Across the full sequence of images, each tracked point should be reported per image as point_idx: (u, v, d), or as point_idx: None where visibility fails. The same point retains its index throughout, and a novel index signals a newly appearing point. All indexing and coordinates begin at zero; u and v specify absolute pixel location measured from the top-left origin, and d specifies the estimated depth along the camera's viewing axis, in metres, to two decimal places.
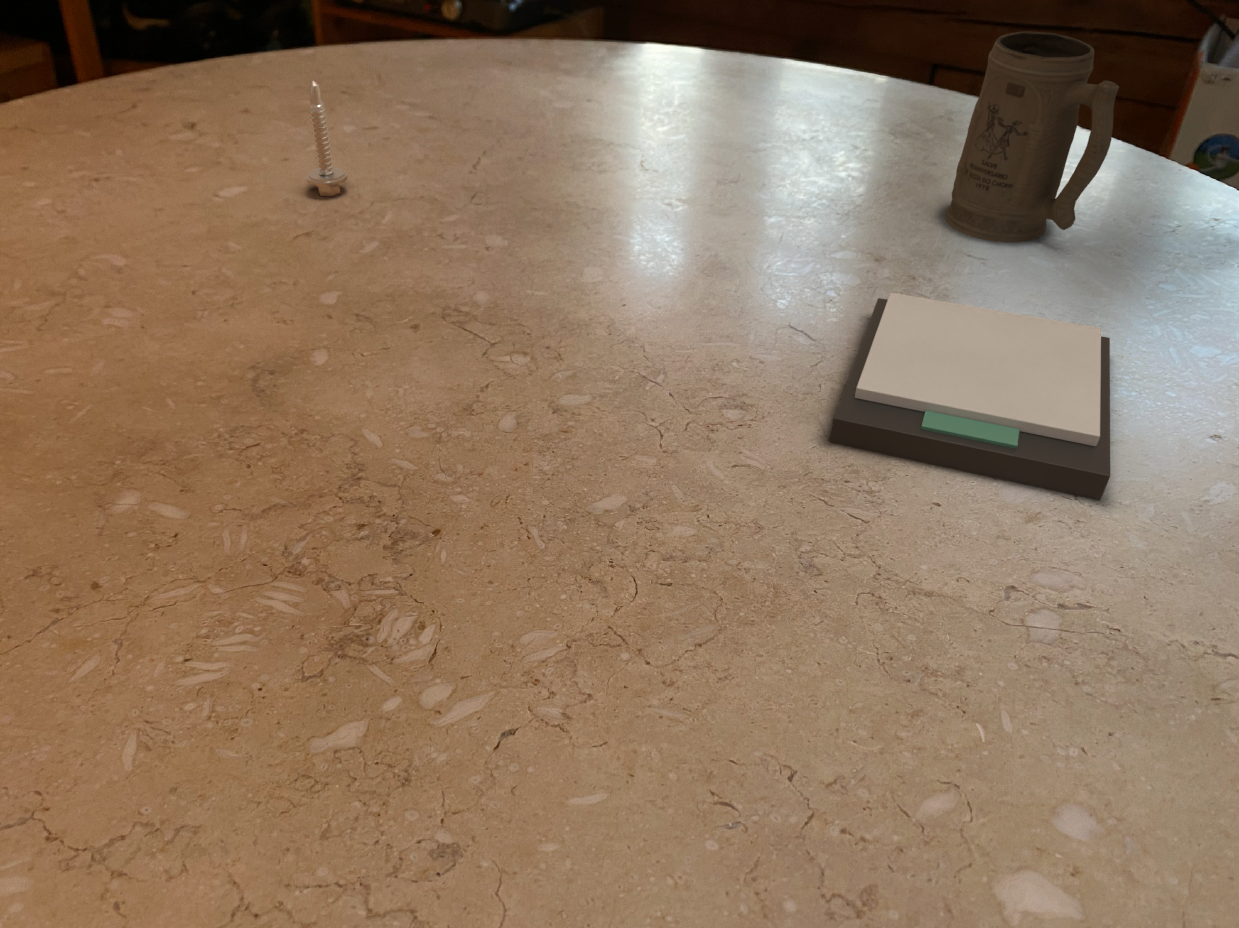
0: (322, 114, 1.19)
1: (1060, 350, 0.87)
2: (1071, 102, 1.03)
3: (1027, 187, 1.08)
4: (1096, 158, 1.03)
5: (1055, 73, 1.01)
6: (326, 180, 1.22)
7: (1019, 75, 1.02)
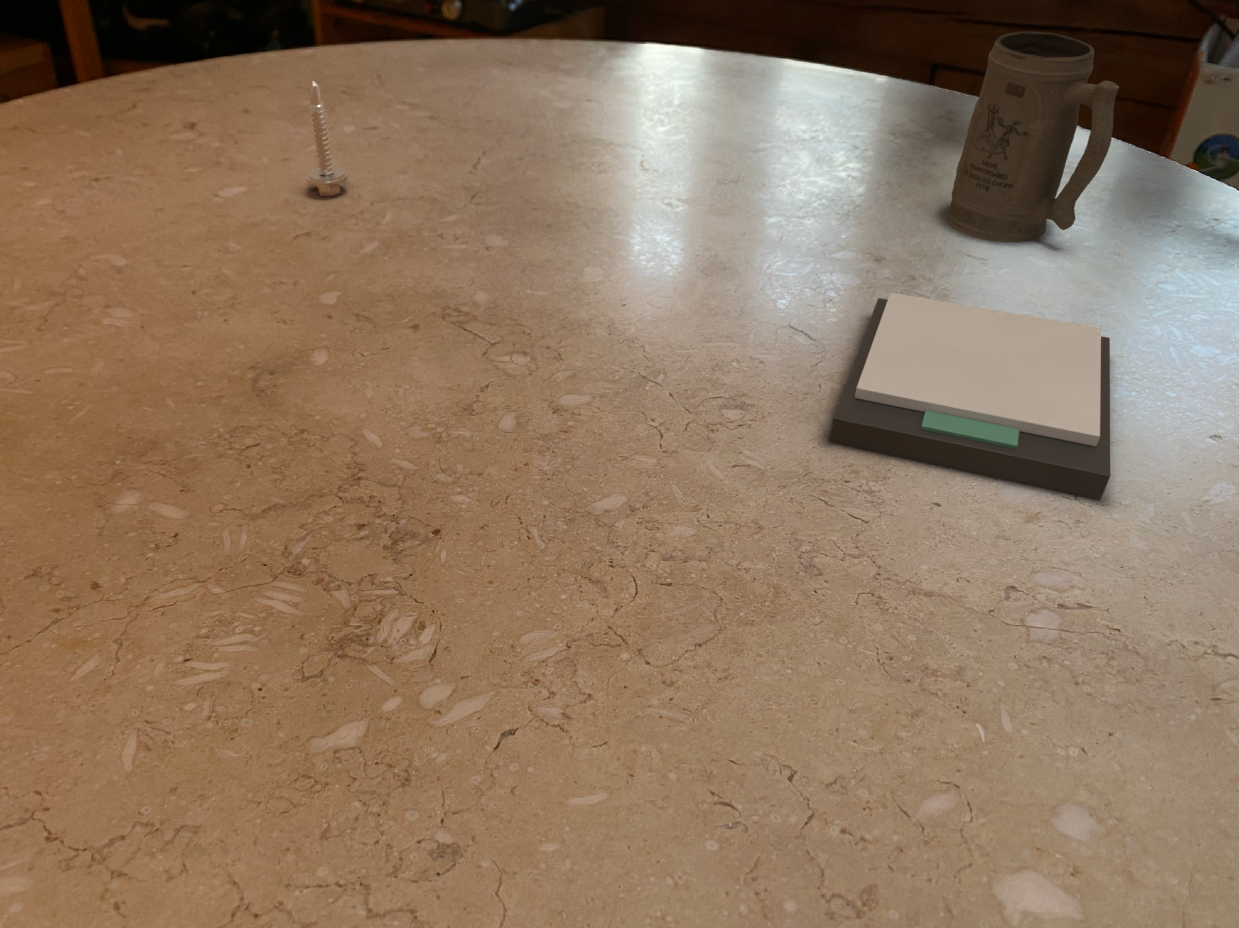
0: (322, 114, 1.19)
1: (1060, 350, 0.87)
2: (1071, 102, 1.03)
3: (1027, 187, 1.08)
4: (1096, 158, 1.03)
5: (1055, 73, 1.01)
6: (326, 180, 1.22)
7: (1019, 75, 1.02)
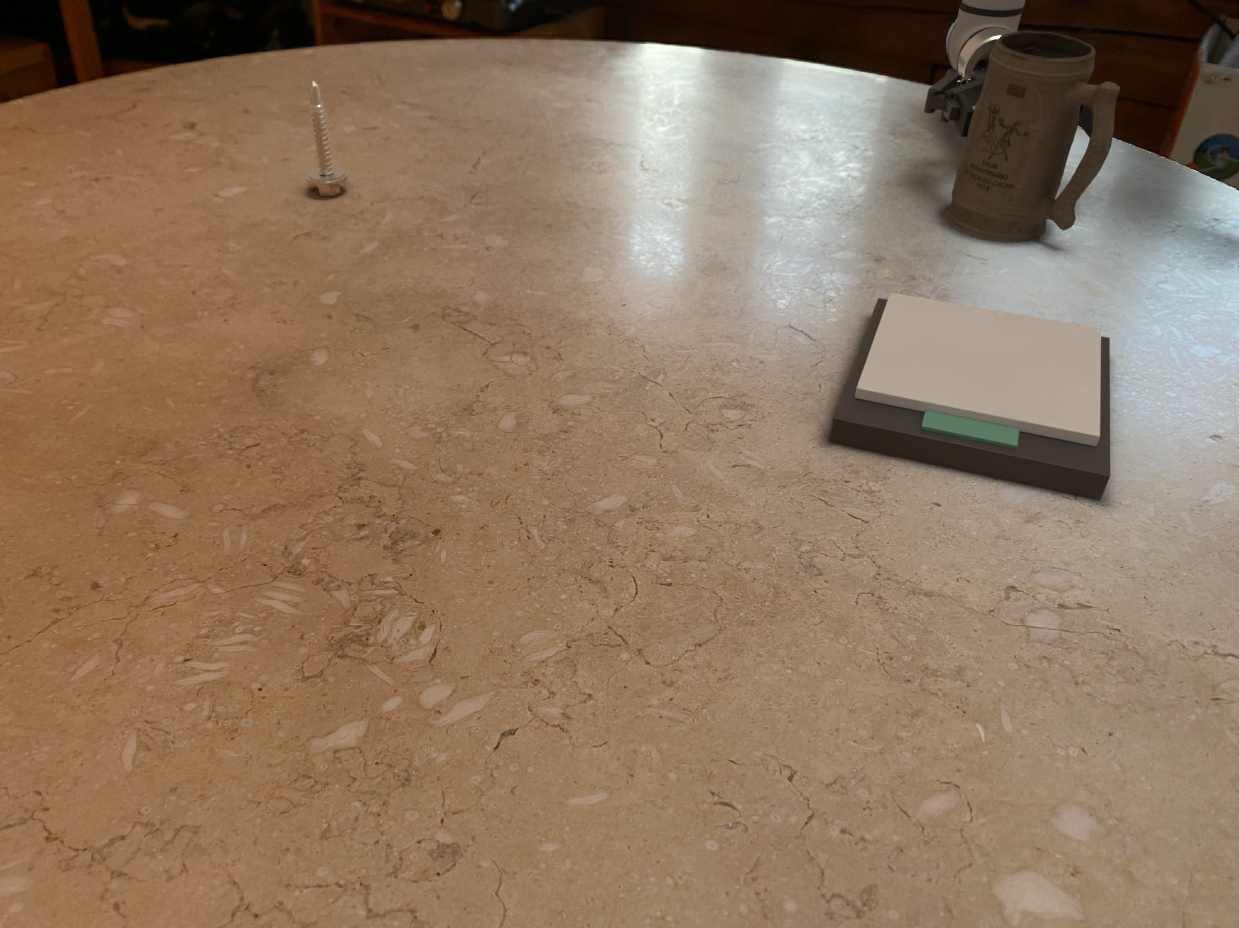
0: (322, 114, 1.19)
1: (1060, 350, 0.87)
2: (1072, 103, 1.03)
3: (1028, 187, 1.08)
4: (1097, 159, 1.02)
5: (1056, 74, 1.01)
6: (326, 180, 1.22)
7: (1020, 76, 1.02)
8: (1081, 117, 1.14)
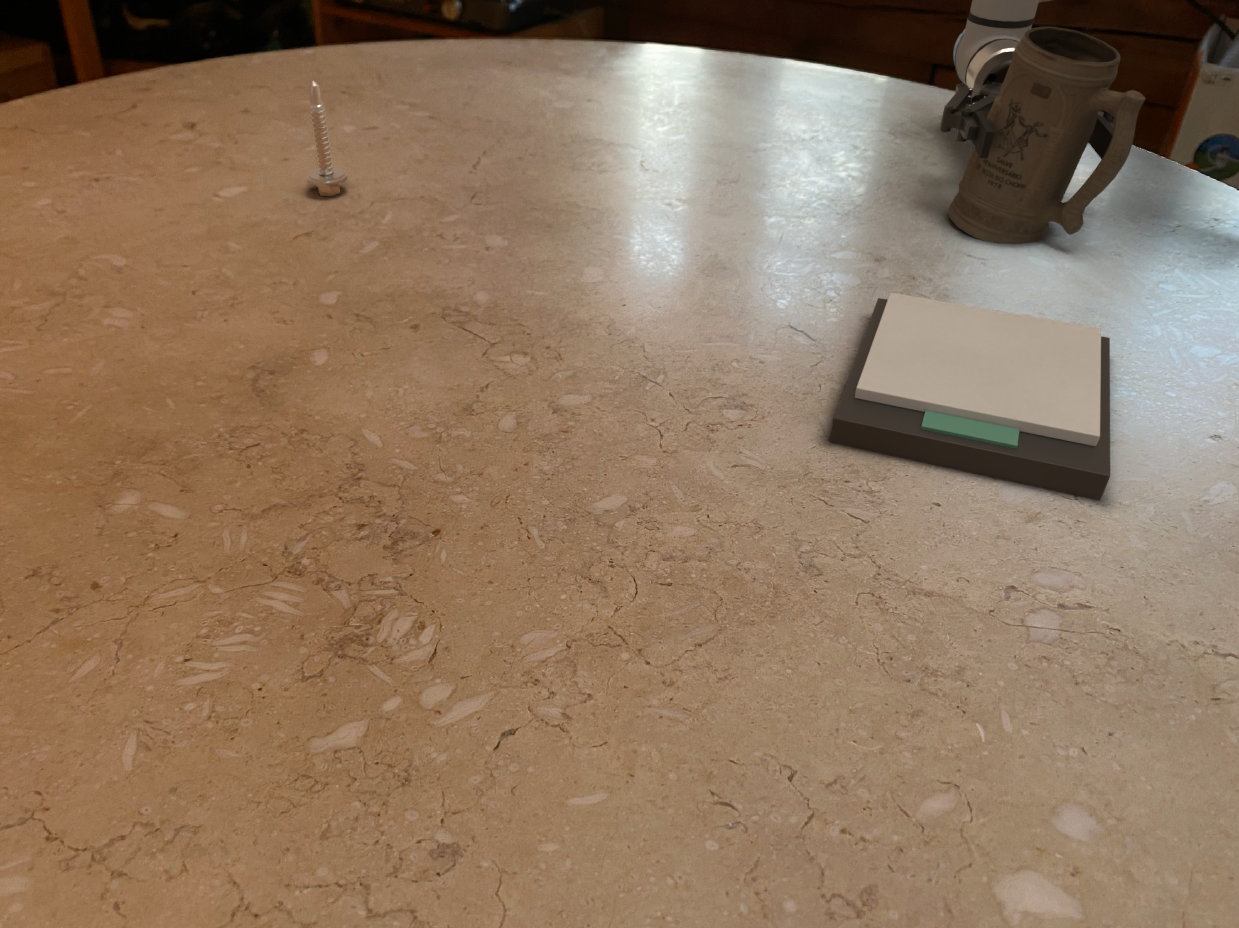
0: (322, 114, 1.19)
1: (1060, 350, 0.87)
2: (1094, 108, 1.02)
3: (1040, 189, 1.07)
4: (1113, 168, 1.02)
5: (1084, 78, 1.00)
6: (326, 180, 1.22)
7: (1047, 76, 1.01)
8: (1091, 136, 1.09)
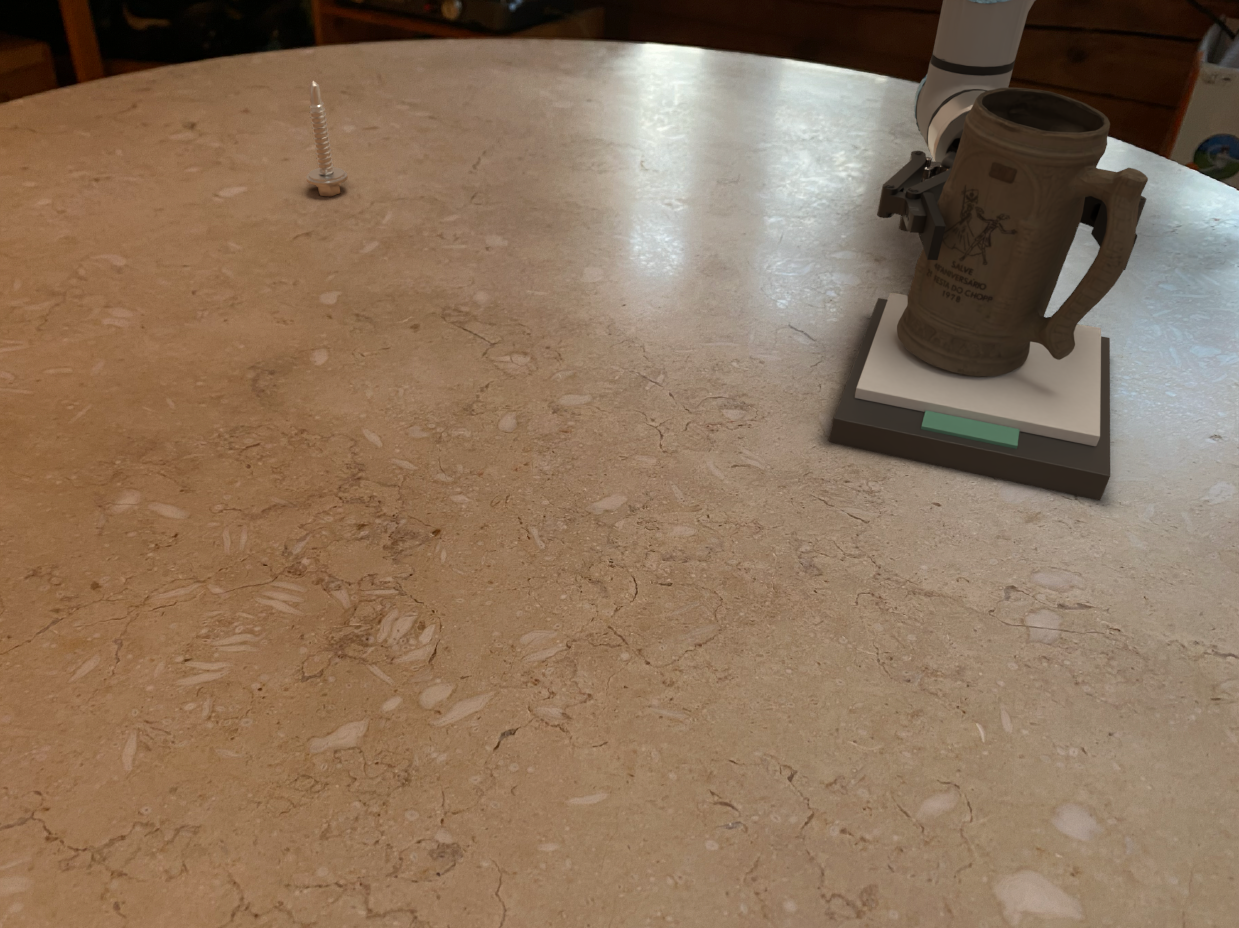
0: (322, 114, 1.19)
1: None
2: (1078, 193, 0.74)
3: (1012, 301, 0.79)
4: (1111, 272, 0.74)
5: (1060, 154, 0.72)
6: (326, 180, 1.22)
7: (1010, 153, 0.73)
8: (1096, 227, 0.81)
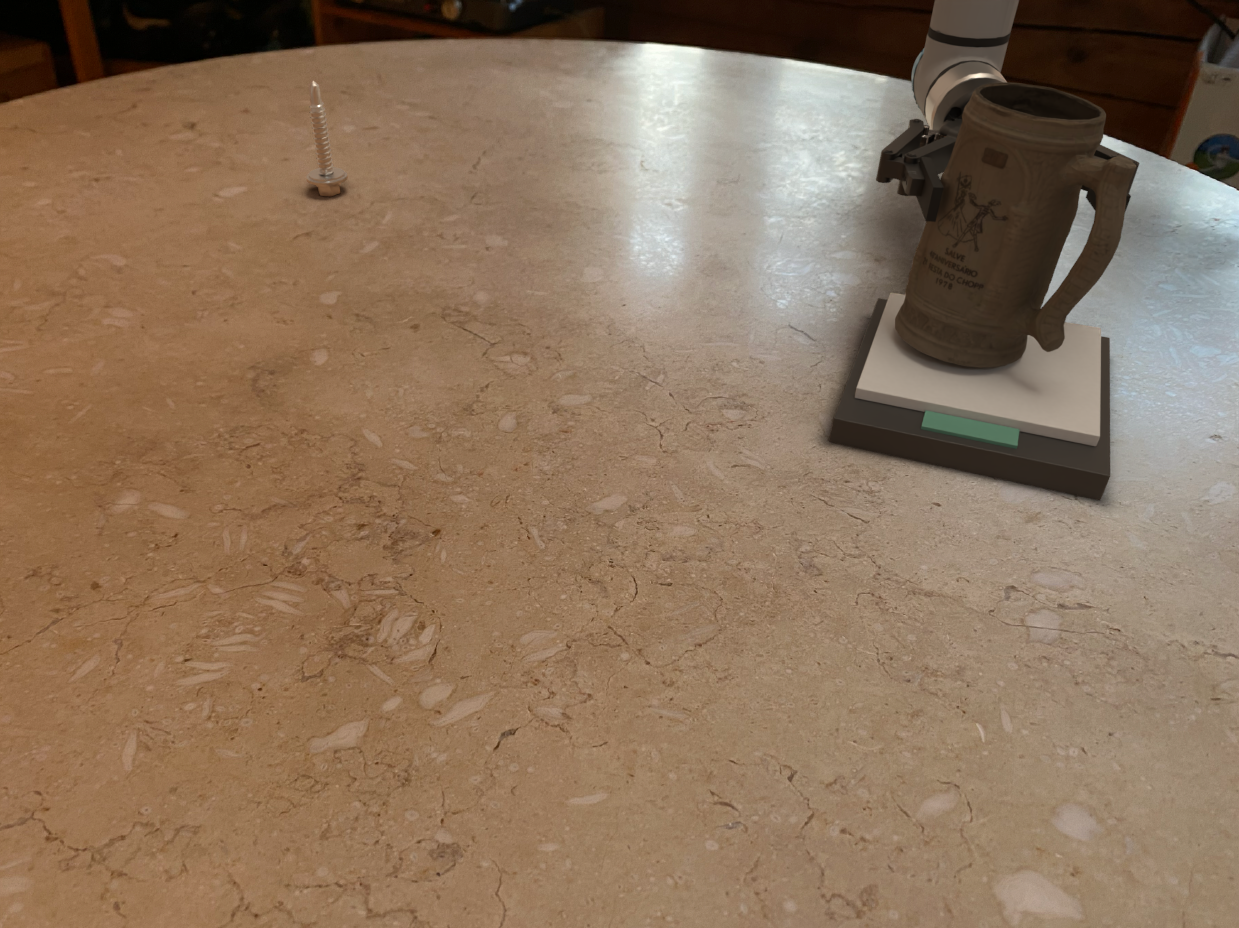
0: (322, 114, 1.19)
1: (1060, 350, 0.87)
2: (1069, 181, 0.75)
3: (1003, 290, 0.79)
4: (1098, 261, 0.74)
5: (1050, 140, 0.73)
6: (326, 180, 1.22)
7: (1001, 138, 0.74)
8: (1090, 190, 0.83)
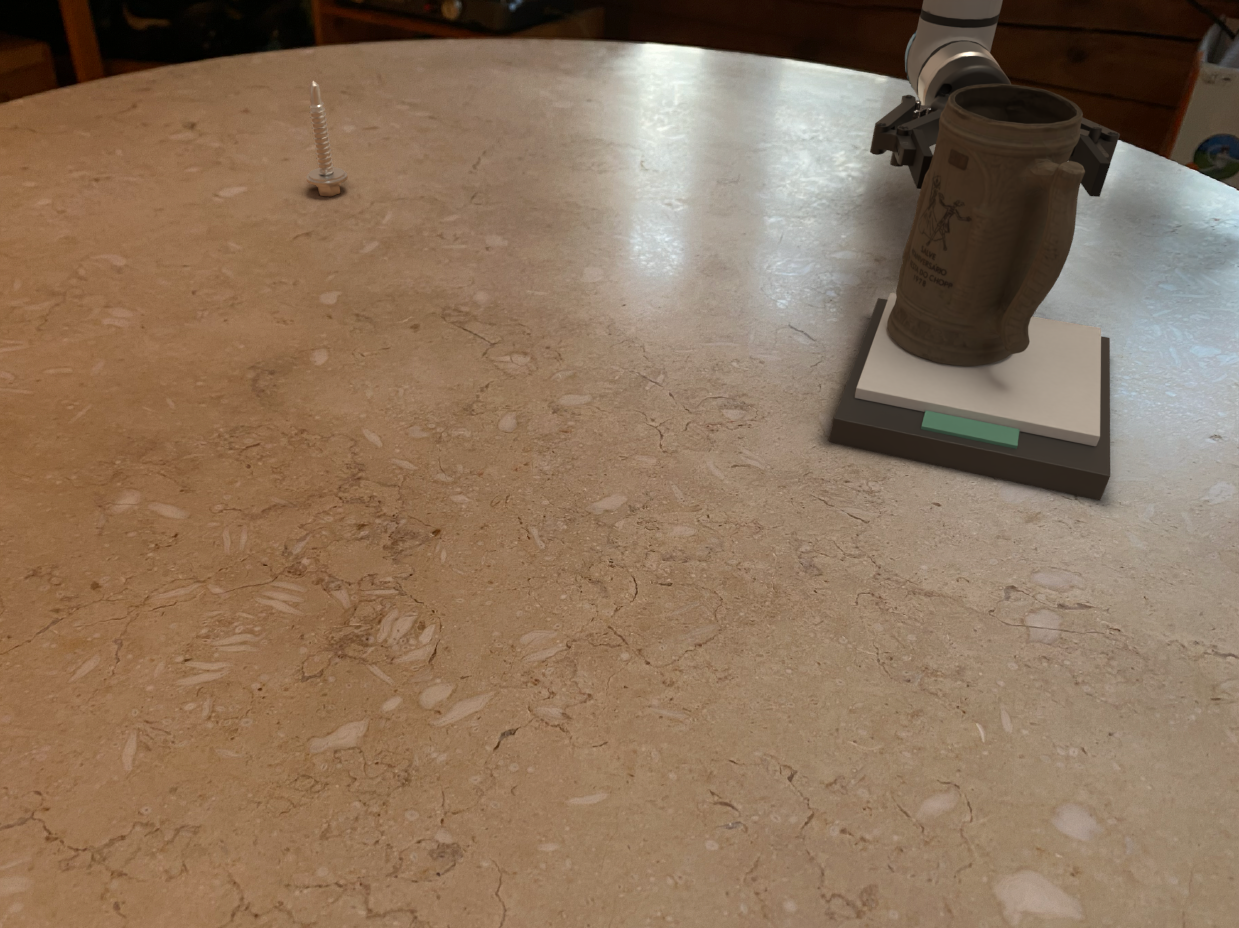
0: (322, 114, 1.19)
1: (1060, 350, 0.87)
2: (1029, 185, 0.75)
3: (970, 290, 0.81)
4: (1049, 265, 0.75)
5: (1005, 143, 0.74)
6: (326, 180, 1.22)
7: (961, 140, 0.76)
8: (1073, 160, 0.88)
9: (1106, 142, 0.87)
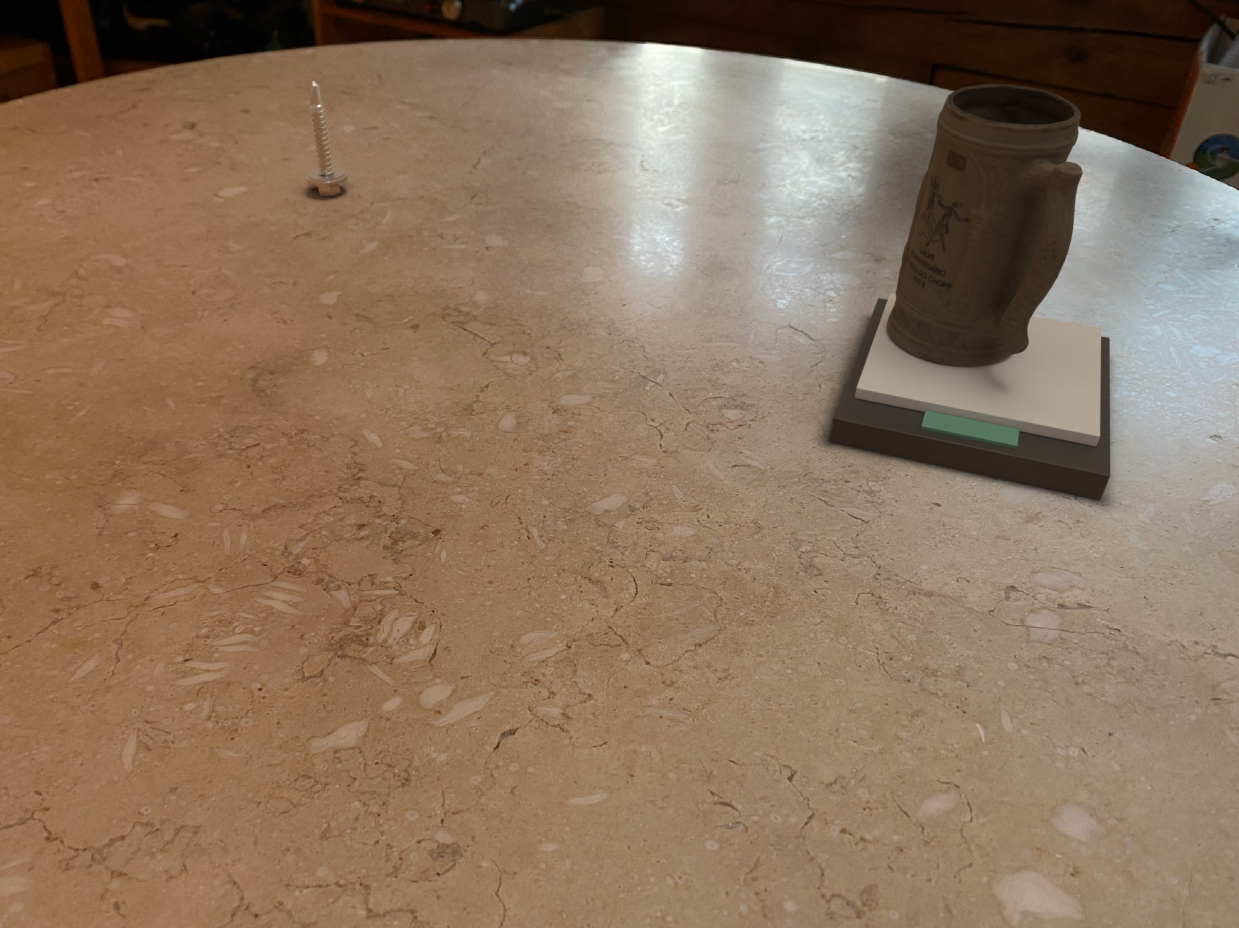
0: (322, 114, 1.19)
1: (1060, 350, 0.87)
2: (1027, 186, 0.75)
3: (969, 290, 0.81)
4: (1047, 266, 0.75)
5: (1003, 144, 0.74)
6: (326, 180, 1.22)
7: (959, 141, 0.76)
8: None
9: None
